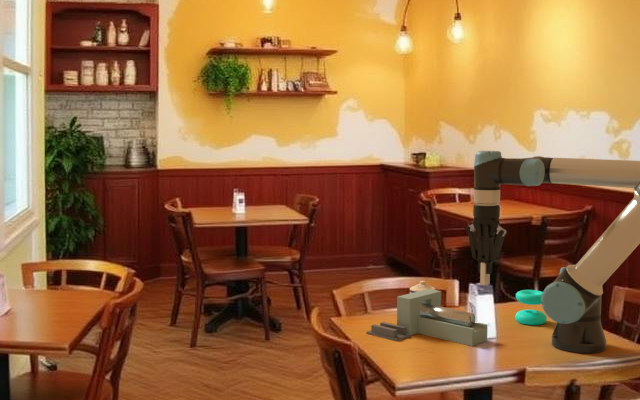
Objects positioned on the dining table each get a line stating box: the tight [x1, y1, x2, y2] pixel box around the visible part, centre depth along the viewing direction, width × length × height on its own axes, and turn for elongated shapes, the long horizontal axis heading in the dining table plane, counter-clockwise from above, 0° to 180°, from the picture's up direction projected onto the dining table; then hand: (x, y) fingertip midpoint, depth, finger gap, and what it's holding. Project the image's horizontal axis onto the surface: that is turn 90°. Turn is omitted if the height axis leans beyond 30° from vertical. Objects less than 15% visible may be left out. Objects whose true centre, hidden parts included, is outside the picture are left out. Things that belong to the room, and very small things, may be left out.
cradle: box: [365, 321, 412, 342], centre depth 234 cm, size 12×7×3 cm, turn 45°
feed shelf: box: [417, 317, 488, 347], centre depth 232 cm, size 20×8×5 cm, turn 45°
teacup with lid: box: [408, 280, 437, 294], centre depth 261 cm, size 12×9×12 cm
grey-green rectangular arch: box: [396, 289, 442, 336], centre depth 241 cm, size 5×16×11 cm, turn 135°
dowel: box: [420, 303, 476, 328], centre depth 235 cm, size 20×4×4 cm, turn 45°
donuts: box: [514, 289, 548, 326], centre depth 249 cm, size 10×10×10 cm
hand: (484, 284), depth 223 cm, fingers closed
